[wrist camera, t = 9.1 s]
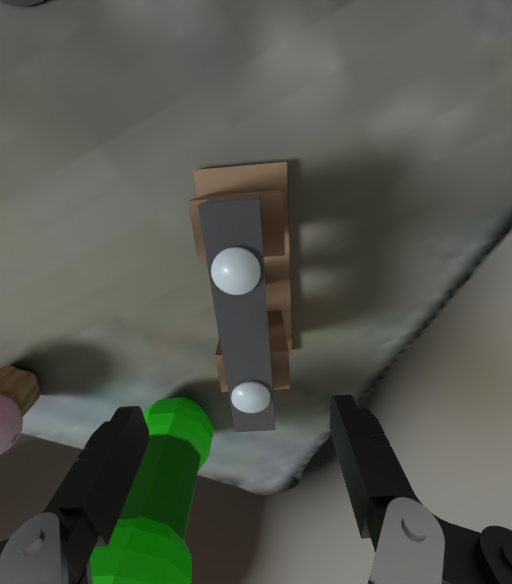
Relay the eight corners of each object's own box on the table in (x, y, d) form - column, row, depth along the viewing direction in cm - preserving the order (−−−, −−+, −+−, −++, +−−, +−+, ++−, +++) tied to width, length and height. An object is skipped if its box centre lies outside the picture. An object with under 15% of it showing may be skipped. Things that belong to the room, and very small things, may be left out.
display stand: (195, 170, 23) (165, 167, 15) (285, 162, 22) (298, 155, 15) (224, 354, 31) (213, 409, 24) (291, 350, 31) (301, 404, 23)
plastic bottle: (143, 432, 37) (-48, 855, 14) (144, 375, 32) (-128, 850, 10) (213, 442, 37) (141, 860, 14) (223, 387, 33) (146, 857, 10)
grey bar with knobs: (211, 198, 16) (196, 205, 12) (259, 194, 16) (259, 199, 12) (238, 390, 23) (234, 435, 19) (272, 389, 23) (275, 433, 19)
